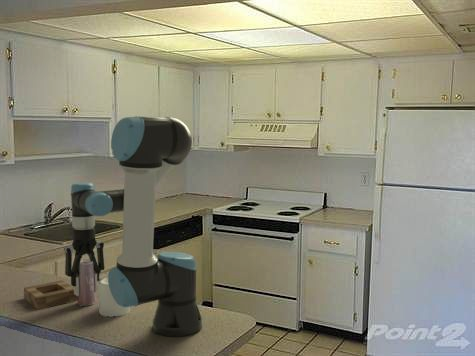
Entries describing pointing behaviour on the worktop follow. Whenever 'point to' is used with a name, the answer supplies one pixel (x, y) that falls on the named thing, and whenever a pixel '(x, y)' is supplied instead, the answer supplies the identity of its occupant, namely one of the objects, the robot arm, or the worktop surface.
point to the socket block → (49, 294)
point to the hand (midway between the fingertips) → (85, 292)
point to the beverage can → (86, 283)
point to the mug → (109, 301)
